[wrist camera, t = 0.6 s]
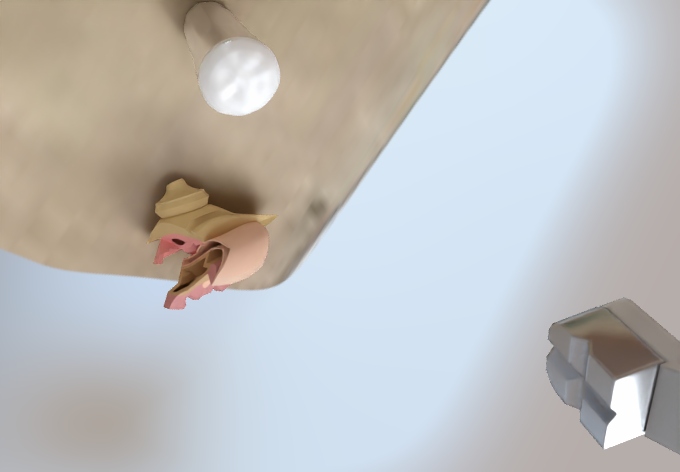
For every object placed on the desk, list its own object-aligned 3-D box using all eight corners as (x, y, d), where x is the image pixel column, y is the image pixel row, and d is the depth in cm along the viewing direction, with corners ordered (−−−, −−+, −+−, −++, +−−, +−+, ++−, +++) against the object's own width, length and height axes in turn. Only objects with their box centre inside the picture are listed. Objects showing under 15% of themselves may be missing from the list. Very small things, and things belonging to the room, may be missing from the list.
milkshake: (223, -35, 40) (270, 23, 33) (252, 43, 43) (299, 111, 36) (154, -7, 39) (186, 58, 32) (189, 70, 43) (225, 143, 36)
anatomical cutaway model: (104, 201, 47) (177, 182, 41) (210, 167, 54) (287, 146, 48) (146, 317, 49) (223, 316, 42) (244, 270, 56) (322, 263, 49)
